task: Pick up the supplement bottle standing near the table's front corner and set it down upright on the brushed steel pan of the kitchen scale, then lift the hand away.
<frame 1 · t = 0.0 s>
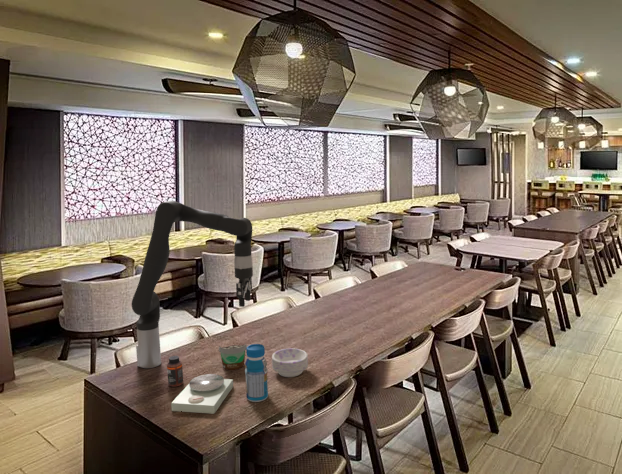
hand: (245, 303, 199), 29 cm above the table, tool pointing down, fingers open, 8 cm apart
supplement bottle: (175, 384, 190), on the table
scale base: (204, 398, 178), on the table
beverage bottle: (257, 397, 178), on the table
food container: (234, 369, 204), on the table
scale pan: (206, 383, 181), point 4 cm above the table, slide at -0.3 cm
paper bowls: (290, 373, 199), on the table
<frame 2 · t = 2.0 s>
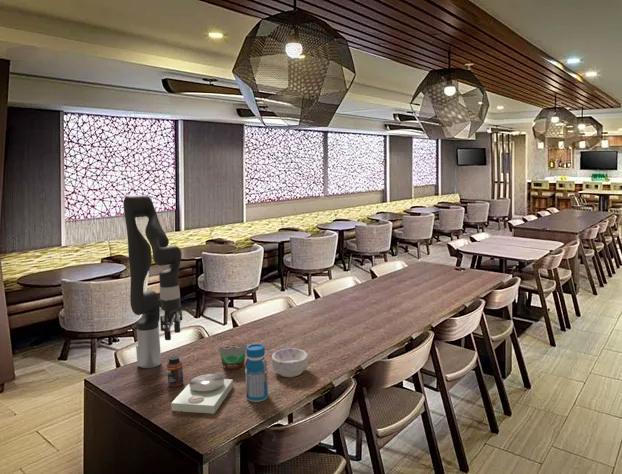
hand: (172, 336, 187), 20 cm above the table, tool pointing down, fingers open, 8 cm apart
nothing on the table moved.
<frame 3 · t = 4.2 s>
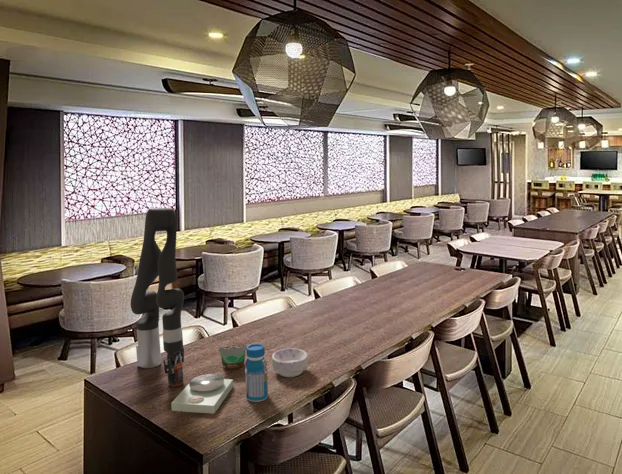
hand: (175, 377, 190), 3 cm above the table, tool pointing down, fingers closed on supplement bottle, 6 cm apart
supplement bottle: (175, 384, 190), on the table, touching gripper
everything else where it was.
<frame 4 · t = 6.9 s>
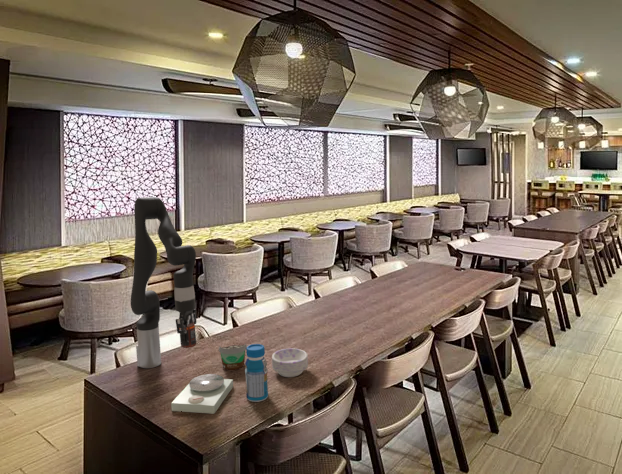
hand: (188, 339, 183), 20 cm above the table, tool pointing down, fingers closed on supplement bottle, 6 cm apart
supplement bottle: (188, 346, 183), point 18 cm above the table, touching gripper
everything else where it was.
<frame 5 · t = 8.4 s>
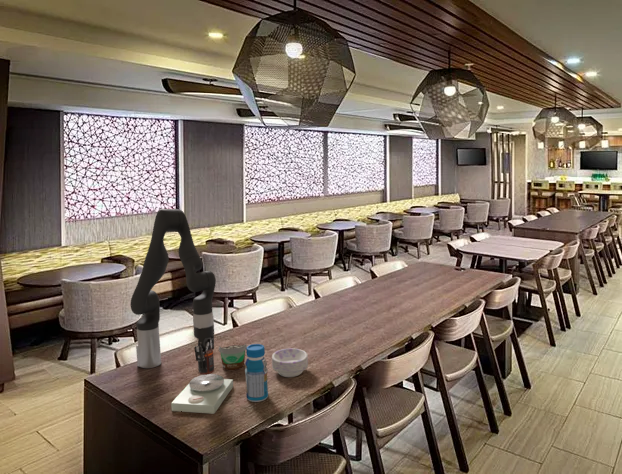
hand: (205, 365, 180), 11 cm above the table, tool pointing down, fingers closed on supplement bottle, 6 cm apart
supplement bottle: (206, 372, 180), point 9 cm above the table, touching gripper
everything else where it was.
when the fingers open (9 cm above the table, at t = 9.6 s): supplement bottle drops 2 cm, resting on scale pan.
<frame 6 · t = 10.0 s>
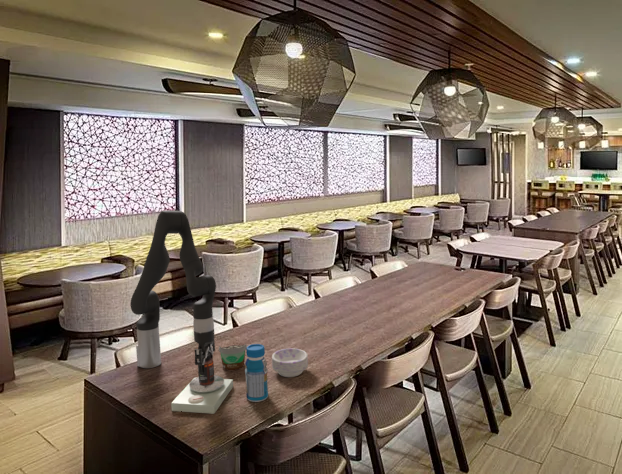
hand: (206, 368, 180), 10 cm above the table, tool pointing down, fingers open, 8 cm apart
supplement bottle: (206, 382, 181), point 4 cm above the table, touching scale pan
scale pan: (206, 384, 181), point 4 cm above the table, slide at -0.6 cm, touching supplement bottle
everything else where it was.
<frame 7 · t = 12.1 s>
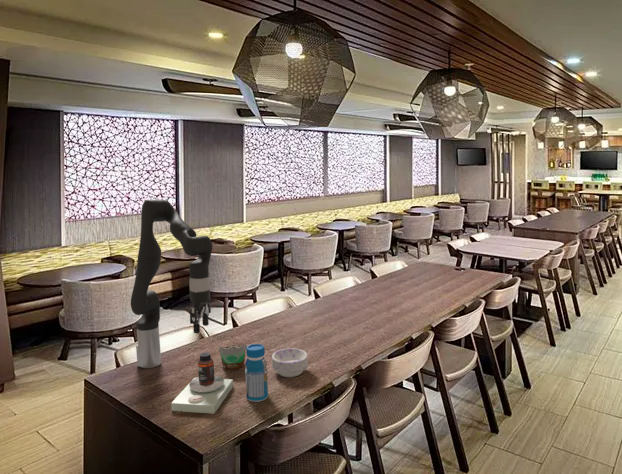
hand: (201, 329, 181), 25 cm above the table, tool pointing down, fingers open, 8 cm apart
nothing on the table moved.
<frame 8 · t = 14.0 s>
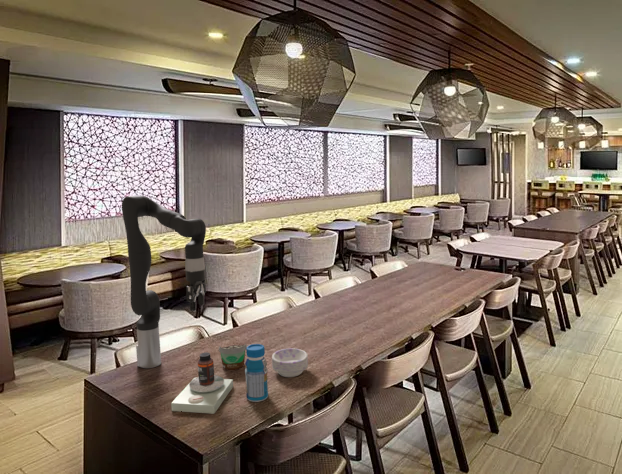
hand: (197, 307, 192), 30 cm above the table, tool pointing down, fingers open, 8 cm apart
nothing on the table moved.
at the end: supplement bottle inside the target area on the scale base (0.1 cm from its centre), point 4.5 cm above the scale base's base; supplement bottle tilted 0°; the gripper is holding nothing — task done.
